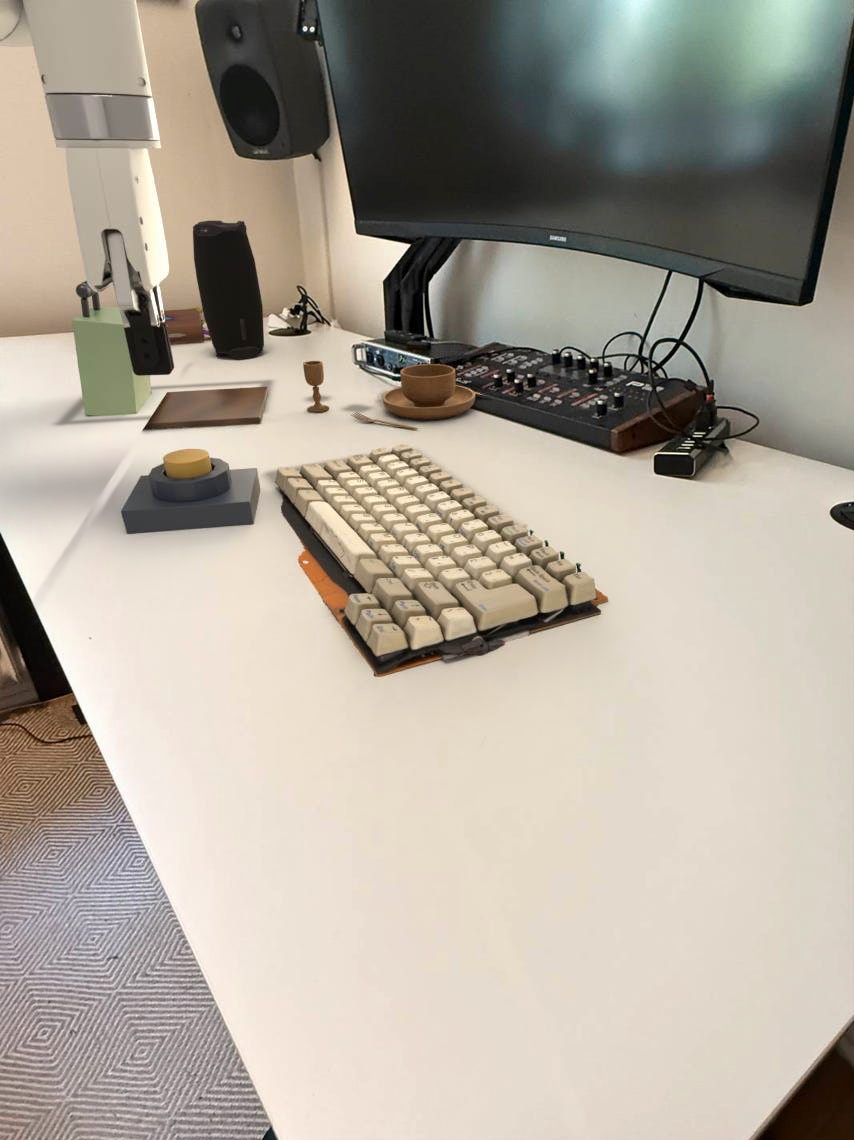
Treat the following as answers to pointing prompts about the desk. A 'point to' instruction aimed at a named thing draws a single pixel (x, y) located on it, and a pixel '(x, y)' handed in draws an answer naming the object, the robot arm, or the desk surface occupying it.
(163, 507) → the grey mounting base
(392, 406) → the place setting
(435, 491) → the mechanical keyboard
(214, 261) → the portable speaker
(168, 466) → the bell button
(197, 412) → the brown wooden board
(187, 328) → the book
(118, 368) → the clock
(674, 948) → the desk surface
